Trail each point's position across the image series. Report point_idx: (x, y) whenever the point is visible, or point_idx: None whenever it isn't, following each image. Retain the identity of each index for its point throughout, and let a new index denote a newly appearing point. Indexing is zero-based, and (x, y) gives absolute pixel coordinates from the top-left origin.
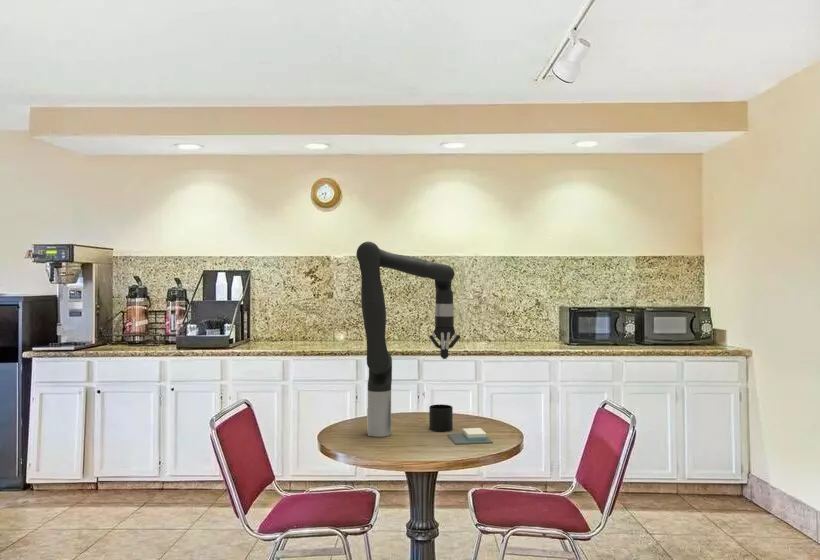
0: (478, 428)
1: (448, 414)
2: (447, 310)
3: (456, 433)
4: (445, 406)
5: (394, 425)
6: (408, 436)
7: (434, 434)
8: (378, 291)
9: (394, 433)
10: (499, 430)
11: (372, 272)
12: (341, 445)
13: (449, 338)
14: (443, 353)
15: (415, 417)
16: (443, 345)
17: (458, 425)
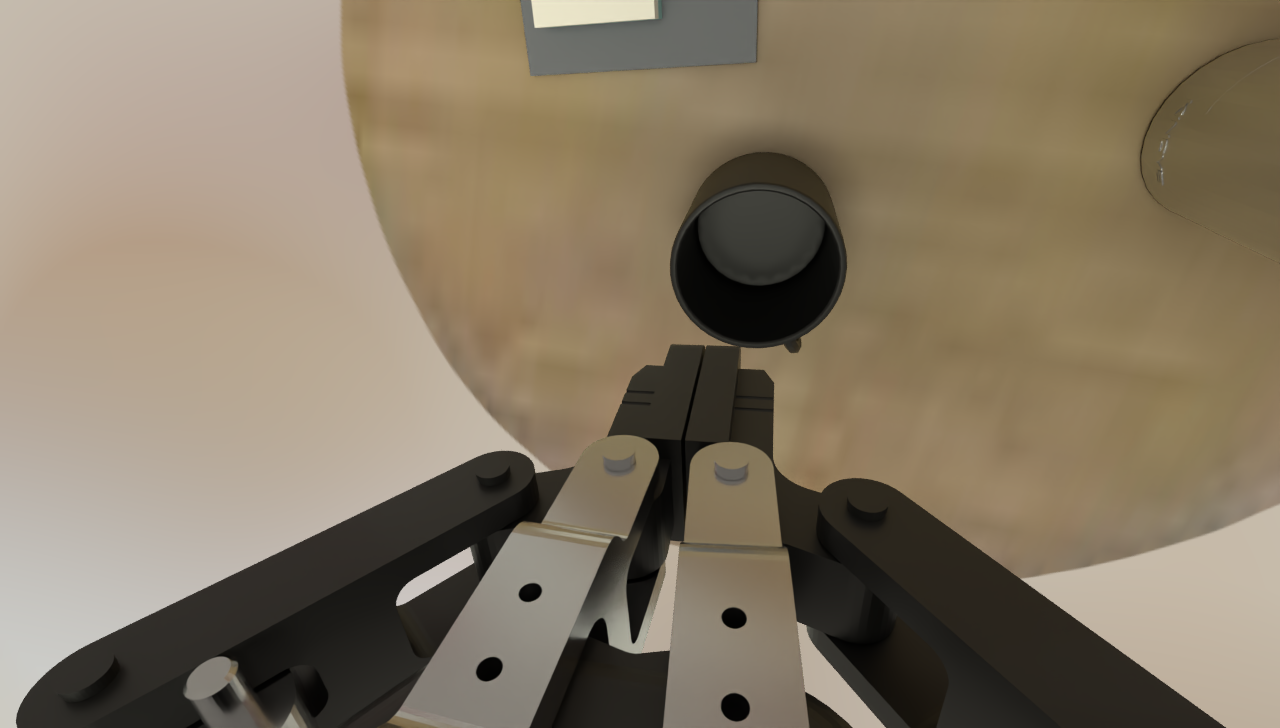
0: (547, 12)
1: (717, 184)
2: None
3: (694, 63)
4: (708, 322)
5: (1025, 352)
6: (1041, 47)
7: (837, 88)
8: None
9: (1111, 148)
10: (431, 147)
11: None
12: None
13: (441, 651)
14: (727, 393)
15: None
16: (711, 513)
17: (641, 292)
